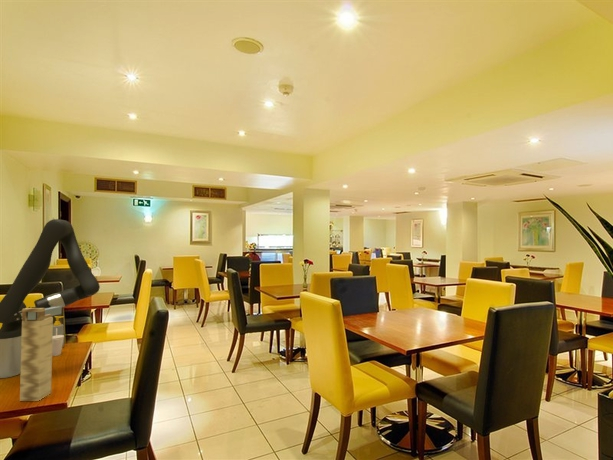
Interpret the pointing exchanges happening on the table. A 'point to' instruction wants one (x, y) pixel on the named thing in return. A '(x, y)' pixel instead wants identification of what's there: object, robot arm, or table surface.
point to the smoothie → (57, 344)
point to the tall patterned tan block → (36, 355)
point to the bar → (47, 311)
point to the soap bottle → (58, 328)
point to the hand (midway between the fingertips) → (3, 321)
